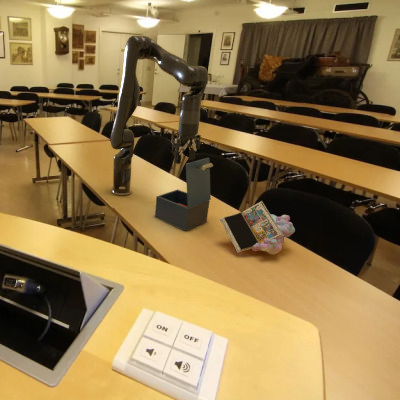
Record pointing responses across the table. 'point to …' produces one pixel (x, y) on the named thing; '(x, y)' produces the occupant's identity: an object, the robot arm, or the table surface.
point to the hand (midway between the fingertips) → (184, 161)
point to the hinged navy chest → (180, 210)
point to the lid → (198, 182)
